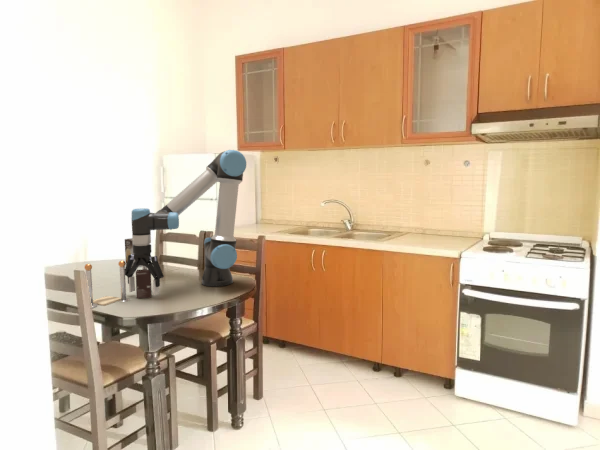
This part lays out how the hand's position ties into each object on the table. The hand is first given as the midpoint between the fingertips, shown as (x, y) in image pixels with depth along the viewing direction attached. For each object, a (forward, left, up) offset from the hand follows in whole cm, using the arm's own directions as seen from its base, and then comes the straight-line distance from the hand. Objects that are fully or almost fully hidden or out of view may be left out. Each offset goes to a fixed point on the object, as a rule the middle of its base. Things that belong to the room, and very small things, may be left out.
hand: (144, 292), depth 191 cm
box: (0, 0, -2) cm, 2 cm away
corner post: (+5, +7, -3) cm, 9 cm away
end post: (+11, +19, -2) cm, 22 cm away
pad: (+11, +11, -2) cm, 16 cm away
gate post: (+5, -7, -2) cm, 9 cm away
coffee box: (+51, -52, -2) cm, 73 cm away
